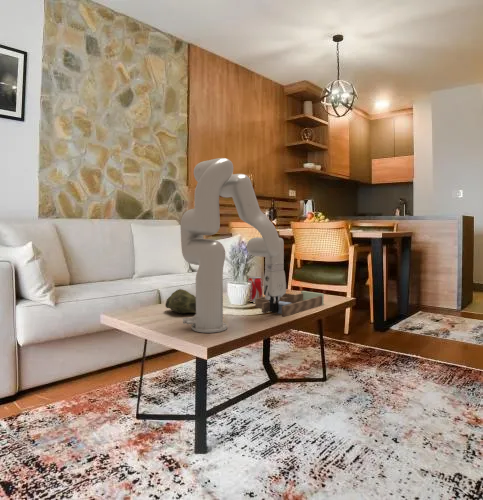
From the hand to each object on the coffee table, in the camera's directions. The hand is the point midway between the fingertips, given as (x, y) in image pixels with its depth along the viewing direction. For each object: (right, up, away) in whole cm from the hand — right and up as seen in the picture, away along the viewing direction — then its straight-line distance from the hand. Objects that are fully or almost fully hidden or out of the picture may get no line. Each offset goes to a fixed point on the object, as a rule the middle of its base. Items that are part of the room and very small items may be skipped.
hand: (274, 312), depth 163 cm
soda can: (-7, +1, +24) cm, 25 cm away
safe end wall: (+19, +1, +22) cm, 30 cm away
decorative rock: (-37, -1, +3) cm, 37 cm away
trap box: (+6, 0, +13) cm, 15 cm away
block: (+3, -1, +4) cm, 5 cm away
